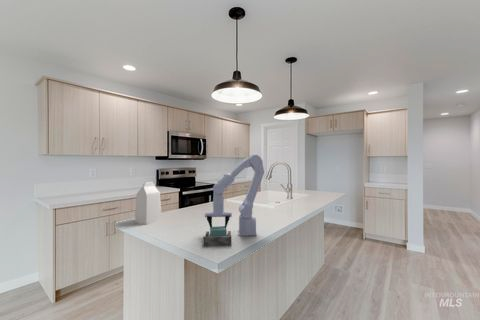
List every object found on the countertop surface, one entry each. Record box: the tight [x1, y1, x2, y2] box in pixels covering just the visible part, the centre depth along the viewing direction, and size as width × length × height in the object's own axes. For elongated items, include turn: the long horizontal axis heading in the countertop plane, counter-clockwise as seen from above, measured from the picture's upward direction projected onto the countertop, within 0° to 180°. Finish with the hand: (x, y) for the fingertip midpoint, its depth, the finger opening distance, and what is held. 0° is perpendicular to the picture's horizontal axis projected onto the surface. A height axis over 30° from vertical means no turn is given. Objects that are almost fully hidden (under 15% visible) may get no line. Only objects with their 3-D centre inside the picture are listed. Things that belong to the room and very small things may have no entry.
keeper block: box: [209, 225, 228, 236], centre depth 117 cm, size 8×6×5 cm
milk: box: [134, 181, 163, 226], centre depth 148 cm, size 12×12×26 cm
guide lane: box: [202, 230, 232, 247], centre depth 115 cm, size 13×18×4 cm
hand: (218, 230), depth 122 cm, fingers open, 7 cm apart
